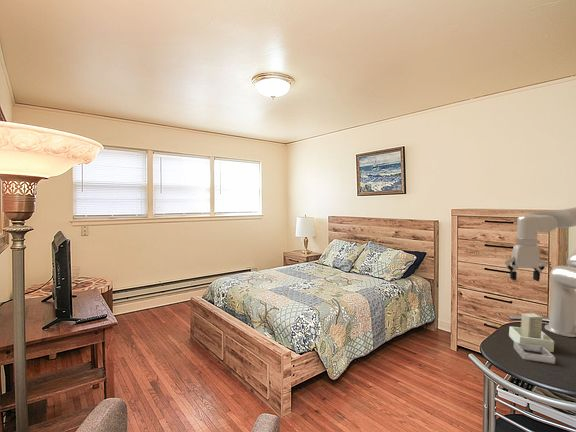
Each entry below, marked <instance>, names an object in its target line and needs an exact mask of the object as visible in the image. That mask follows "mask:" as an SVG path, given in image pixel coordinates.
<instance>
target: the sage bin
mask: <svg viewBox="0 0 576 432" xmlns="http://www.w3.org/2000/svg"><path fill="white" fill-rule="evenodd" d="M520 330H521V327H518V326H509V329H508V331H509V332H508V336H509V338H510V339H511V340H512V341H513V343H514V342H518V343H525V344H532V345H539V346H543V347H544V348H545V349H547V350H548V351H549V352H550V353H554V350H555V340H553V339H552V338H551V337H550V336H548V335H547V334H546V333H545V332H544V331H542V330H541V339H537V338H529V337H522V336H521V335H520Z"/></svg>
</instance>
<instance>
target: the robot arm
mask: <svg viewBox="0 0 576 432" xmlns="http://www.w3.org/2000/svg"><path fill="white" fill-rule="evenodd" d="M572 227H576V207H569V208H564V209H555V210H547V211H538V212H532V213H526V214H524V215H519V216H518V217H517V220H516V240H515V243H516V244H514V245H513V248H512V250H511V256H510V257H511V258H509V259H507V260H505V261H504V264H505V266H506V268H507V269H508V270H509V271H510V272H509V274H510V275H509V276H510V280H512V281H514V282H515V281H517V273H518V272H517V270H518V269H533V271H532V272H533V273H532V274H533V275H532V280H534V281H536V282H540V279H541V273H542V271H543V270H544V269H546V266H547V262H546V261H544V260H542V259H540V258H541V256H540V249H539V246H538V244H540V243H541V242H540V240H538V232H542V233H551V232H554V231H555V230H556V229H557V228H562V229H563V228H564V229H567V228H572ZM566 263H567V265H556V266H553V268H551V269H550V274H549V277H550V283H551V297H550V307H549V321H548V324H545V325H544V329H545V330H546V331H548V332H549V333H552V334H555V335H558V336H562V337H567V338H576V249H575V250H574V251H573V252H572V253H571V254H570V255H569V257H568V258H567V261H566Z"/></svg>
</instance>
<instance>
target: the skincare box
mask: <svg viewBox="0 0 576 432" xmlns="http://www.w3.org/2000/svg"><path fill="white" fill-rule="evenodd" d="M542 325H543V316H542V315H539V314H536V313H534V312H532V313H529V312H527V313H521V318H520V328H521V330H520V335H521V336H522V337H529V338H537V339H541V331H542Z"/></svg>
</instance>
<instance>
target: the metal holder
mask: <svg viewBox="0 0 576 432" xmlns="http://www.w3.org/2000/svg"><path fill="white" fill-rule="evenodd" d="M513 349H514V350H515V352H516V353H517V354H518V355H519V357H521V358H522V359H523V360H525V361H526V360H527V361H531V362H532V361H533V362H540V363H546V364H552V365H555V364H556V357H555V356H554V355H553V354H552V352H549V351H548V350H547V349H545V348H544V347H543V346H539V345H532V344H525V343H518V342H514V341H513ZM526 351H527V352H526ZM532 352H536V353H532ZM539 353H540V354H539Z"/></svg>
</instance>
